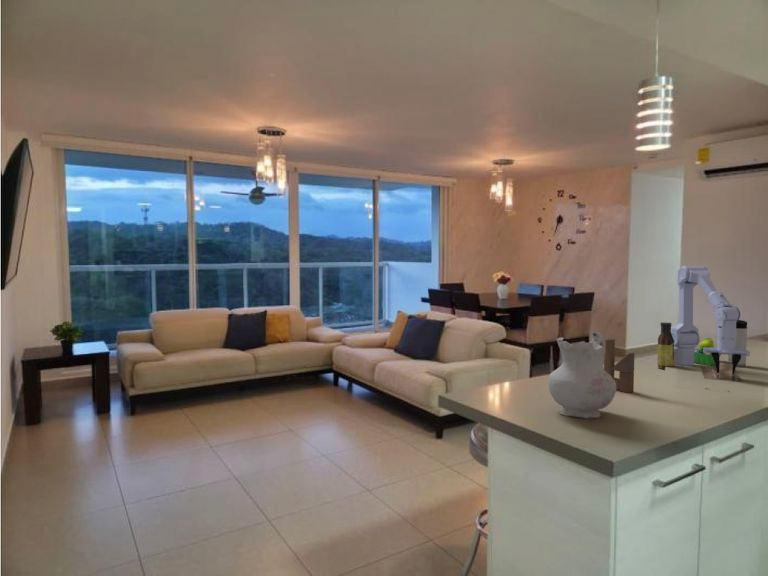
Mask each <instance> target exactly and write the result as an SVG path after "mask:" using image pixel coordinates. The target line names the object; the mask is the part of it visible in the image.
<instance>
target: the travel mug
mask: <svg viewBox="0 0 768 576" xmlns="http://www.w3.org/2000/svg"><path fill="white" fill-rule="evenodd" d="M747 340H748V322H747V321H746V320H741V319H739V320H738V321H736V341H735V349H738V350H747V342H748V341H747ZM727 357H728V359H727V361H731V362H732V355H728V356H727ZM737 366H738V368H745V367H746V366H747V356H741V359H740V361H739V362H738V364H737ZM744 366H745V367H744Z"/></svg>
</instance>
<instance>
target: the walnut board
mask: <svg viewBox="0 0 768 576" xmlns="http://www.w3.org/2000/svg"><path fill="white" fill-rule="evenodd" d="M700 369H701V372H702V375H703V379H704V380H705V379H706V380H716V381H718V380H719V381H726V382H727V381H729V382H739V383H743V380H742V378H741V376H740V375H739V373H738V371H737V369H735V371H734V374H732V380H731V379H721V378H719V377H718V376H717V374H718V373H717V370H716V367H710V366H709V367H707V366H701V368H700Z"/></svg>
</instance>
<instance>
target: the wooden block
mask: <svg viewBox="0 0 768 576" xmlns="http://www.w3.org/2000/svg"><path fill="white" fill-rule="evenodd" d="M604 341H605V355H604V363H603V368H604V370H605V371H606V372H607V373H608V374H609V375H611V377H612V378H613V379H614V381H615V383H616V391H618V390H619V392H622V391H623V393H626V392H627V393H626V394H629V392H630V393H632V391H633V392H634V388H635V387H634V385H635V384H634V383H635V381H634V380H635V352H631V353H627V354H626V355H625V356H624V357H623V358H621V359H620V360H619V361H618V362H617V363H616V361H615V360H616V359H615V358H616V356H615V355H616V339H615V338H604ZM615 363H616V364H615ZM615 371H616V372H618V373H619V374H618V375H619V377H615Z"/></svg>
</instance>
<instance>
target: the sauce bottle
mask: <svg viewBox="0 0 768 576" xmlns="http://www.w3.org/2000/svg"><path fill="white" fill-rule="evenodd" d="M671 333H672V322H669V321H661V322H660V334H659V335H658V338H657V368H658V369H660V370H666V367H667V368H670V367H671V368H672V367H674V366H675V364H674V339H673V336H672V334H671Z"/></svg>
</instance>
